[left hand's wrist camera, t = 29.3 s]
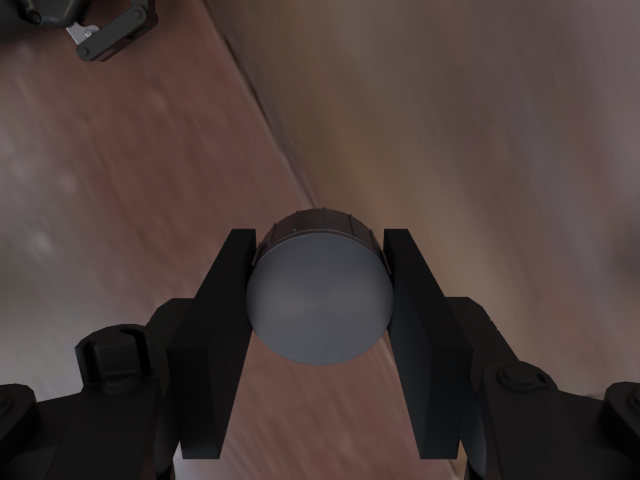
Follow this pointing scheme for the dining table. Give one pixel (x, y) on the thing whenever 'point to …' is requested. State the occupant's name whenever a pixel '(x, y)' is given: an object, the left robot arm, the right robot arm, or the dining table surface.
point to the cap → (319, 288)
